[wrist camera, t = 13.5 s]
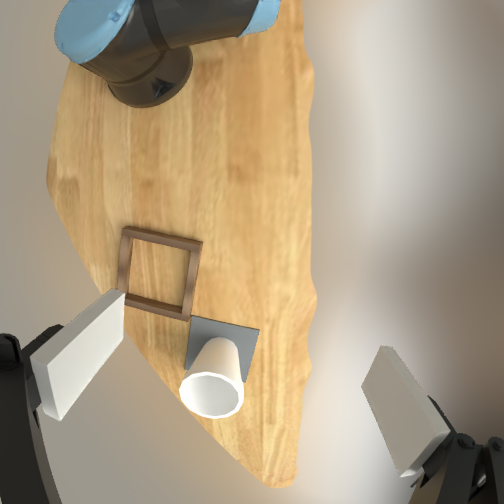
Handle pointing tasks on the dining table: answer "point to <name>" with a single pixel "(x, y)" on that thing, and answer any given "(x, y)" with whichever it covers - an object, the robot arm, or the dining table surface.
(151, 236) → the frame
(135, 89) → the robot arm
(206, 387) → the foam cup
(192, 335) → the mat
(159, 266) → the dining table surface
